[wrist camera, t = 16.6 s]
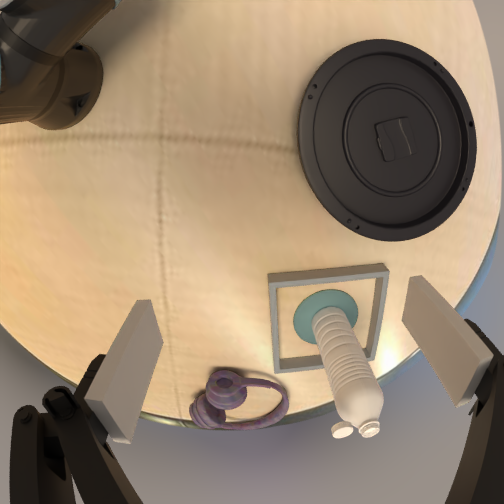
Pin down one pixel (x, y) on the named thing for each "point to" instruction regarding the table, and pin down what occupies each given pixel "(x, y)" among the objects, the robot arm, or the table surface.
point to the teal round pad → (317, 303)
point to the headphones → (232, 401)
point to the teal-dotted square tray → (320, 278)
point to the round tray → (386, 140)
